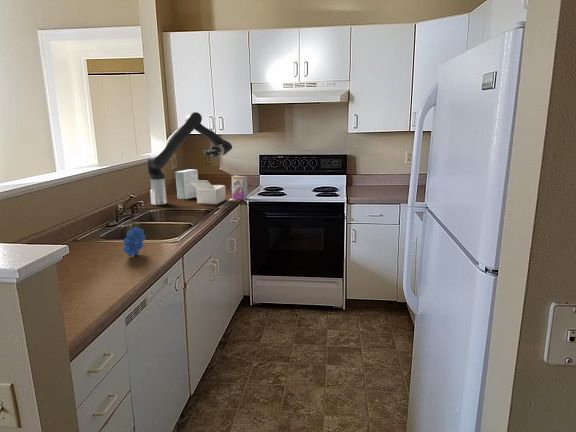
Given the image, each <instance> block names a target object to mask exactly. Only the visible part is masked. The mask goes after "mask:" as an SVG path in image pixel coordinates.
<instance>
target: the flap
mask: <svg viewBox="0 0 576 432" xmlns="http://www.w3.org/2000/svg"><path fill="white" fill-rule="evenodd" d="M188 181H189V182H190V183H191V184H192V185H193V186H194V187H195V188H196V189H215V188H214V187H213V186H212V185H213V184H212V183H210V182H209V180H208V179H207V180H205V179H204V180H203V179H198V180H188Z"/></svg>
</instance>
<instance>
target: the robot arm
mask: <svg viewBox="0 0 576 432" xmlns="http://www.w3.org/2000/svg"><path fill="white" fill-rule="evenodd" d="M202 120H203V118H202V115H201V113H199V112H196V111H194V112H191V113H188V114H186V116H185V119H184V121H185V122H184V123H183V124H182V125H181V126H180V127H178V128H177V129H176V130H175V131H174V132H173V133H172V134H171V135H169V137H168V138H167V140H166V144H165V146H164V148H163V149H162V151H161V152H160V153H159V154H151V155H149V156H148V157H147V169H148V175H149V178H150V191H149V193H150V204H151V205H154V206H161V205H166V204H167V192H166V179H165V177H166V175H165V174H164V173H163V172H162V169H163V168H164V167H165V166H166V165H167V164H168V162H169V160H170V159H171V158H172V156H173V155H174V154H175V153H176V151H177V150H178V149H179V148H180V147H181V146H182V145H183V143H184V142H185V141H186V140H187V138H188V137H189V136H190V134H191V133H192V132H193V131H194V130H195V131H196V132H197V133H199V134H200V135H202V136H203V137H205V138H206V139H207V140H208V141H209V142H210V143H212V145H214V146H211V147H210V149H208V150H206V149H204V150H203V154H204V155H205V156H211V157H214V158H215V157H220V156H226V155H227V154H228V153H229V152H231V150H233V145H232V143H231V142H230V141H227V140H226V139H223V138H222V137H220V136H219V135H218V134H217V133H216V132H215V131H214V130H211V129H210V128H208V127H206V126H204V125H203V124H202V122H203V121H202Z"/></svg>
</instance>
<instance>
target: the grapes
mask: <svg viewBox="0 0 576 432" xmlns="http://www.w3.org/2000/svg"><path fill="white" fill-rule="evenodd" d="M126 232H127V233H126V237H125V238H124V239H123V245H124V247H123V252H124V253H126V254H127V256H128V257H132V256H137V255H139V253H140V250H142V249H143V248H144V246H145V243H144V241H145V240H146V235H145V234H144V229H143V228H139V227H137V226H134V227H133V228H132V229H131V230H128V231H126Z"/></svg>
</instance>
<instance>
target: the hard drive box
mask: <svg viewBox="0 0 576 432" xmlns="http://www.w3.org/2000/svg"><path fill="white" fill-rule="evenodd" d="M174 173H175V184H176V194H177V196H176V197H177V200H184V199H185V200H190V199H193V198H197V197H196V188H195V187H194V186H193V185H192V184H191V183H190V182H189V181H188V180H199V174H198V173H199V172H198V169H193V168H192V169H184V170H178V171H175V172H174Z"/></svg>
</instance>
